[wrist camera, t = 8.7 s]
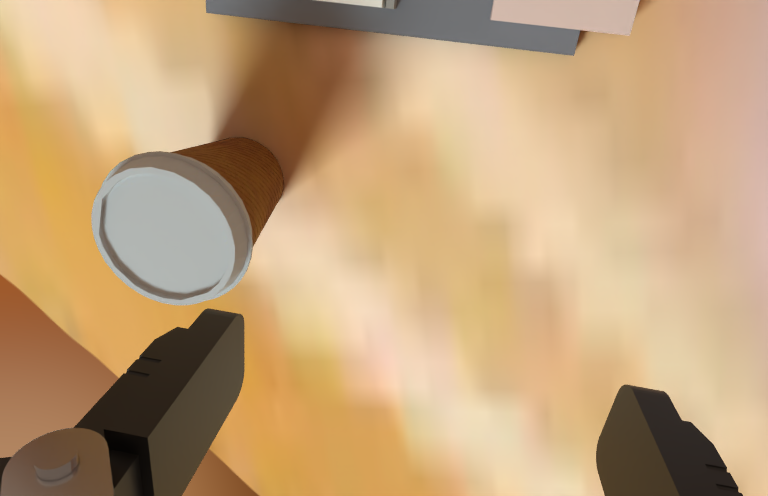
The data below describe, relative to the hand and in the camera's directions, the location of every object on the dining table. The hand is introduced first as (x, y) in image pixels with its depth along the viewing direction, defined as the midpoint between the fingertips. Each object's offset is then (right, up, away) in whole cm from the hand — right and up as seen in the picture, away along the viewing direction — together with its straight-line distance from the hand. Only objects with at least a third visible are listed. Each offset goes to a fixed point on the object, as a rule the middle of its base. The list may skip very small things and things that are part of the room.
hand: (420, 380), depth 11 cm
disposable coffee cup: (-12, +8, +29) cm, 32 cm away
